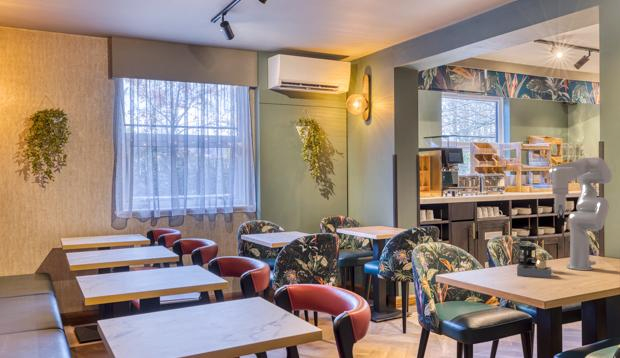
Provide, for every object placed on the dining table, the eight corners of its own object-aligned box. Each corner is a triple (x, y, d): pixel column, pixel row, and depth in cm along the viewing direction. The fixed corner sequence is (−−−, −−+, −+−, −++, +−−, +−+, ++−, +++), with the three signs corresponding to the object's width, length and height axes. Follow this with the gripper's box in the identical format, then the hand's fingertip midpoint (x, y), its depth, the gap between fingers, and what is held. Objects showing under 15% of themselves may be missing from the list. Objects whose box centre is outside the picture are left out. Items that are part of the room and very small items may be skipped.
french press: (533, 271, 280) (534, 228, 280) (515, 269, 286) (516, 227, 285) (539, 267, 289) (539, 226, 289) (521, 266, 295) (521, 225, 295)
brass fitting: (542, 274, 270) (542, 259, 270) (548, 276, 265) (548, 260, 265) (534, 275, 268) (535, 259, 268) (541, 276, 264) (541, 261, 264)
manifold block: (550, 274, 270) (550, 267, 270) (551, 278, 261) (551, 270, 261) (517, 272, 276) (517, 264, 276) (517, 275, 267) (517, 267, 267)
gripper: (552, 190, 278) (552, 222, 279) (552, 192, 263) (552, 226, 263) (567, 190, 275) (568, 222, 276) (569, 192, 260) (569, 226, 260)
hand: (560, 224), depth 270 cm, fingers open, 9 cm apart
